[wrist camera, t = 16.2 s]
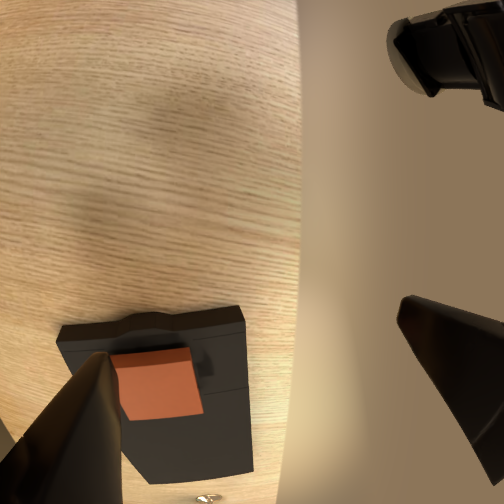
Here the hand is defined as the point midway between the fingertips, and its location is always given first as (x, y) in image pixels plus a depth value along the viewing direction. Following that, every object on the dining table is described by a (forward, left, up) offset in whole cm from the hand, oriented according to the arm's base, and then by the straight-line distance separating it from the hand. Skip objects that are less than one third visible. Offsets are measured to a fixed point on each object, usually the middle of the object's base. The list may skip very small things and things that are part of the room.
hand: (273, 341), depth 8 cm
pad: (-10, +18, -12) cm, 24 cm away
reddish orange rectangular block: (-4, +12, -12) cm, 17 cm away
